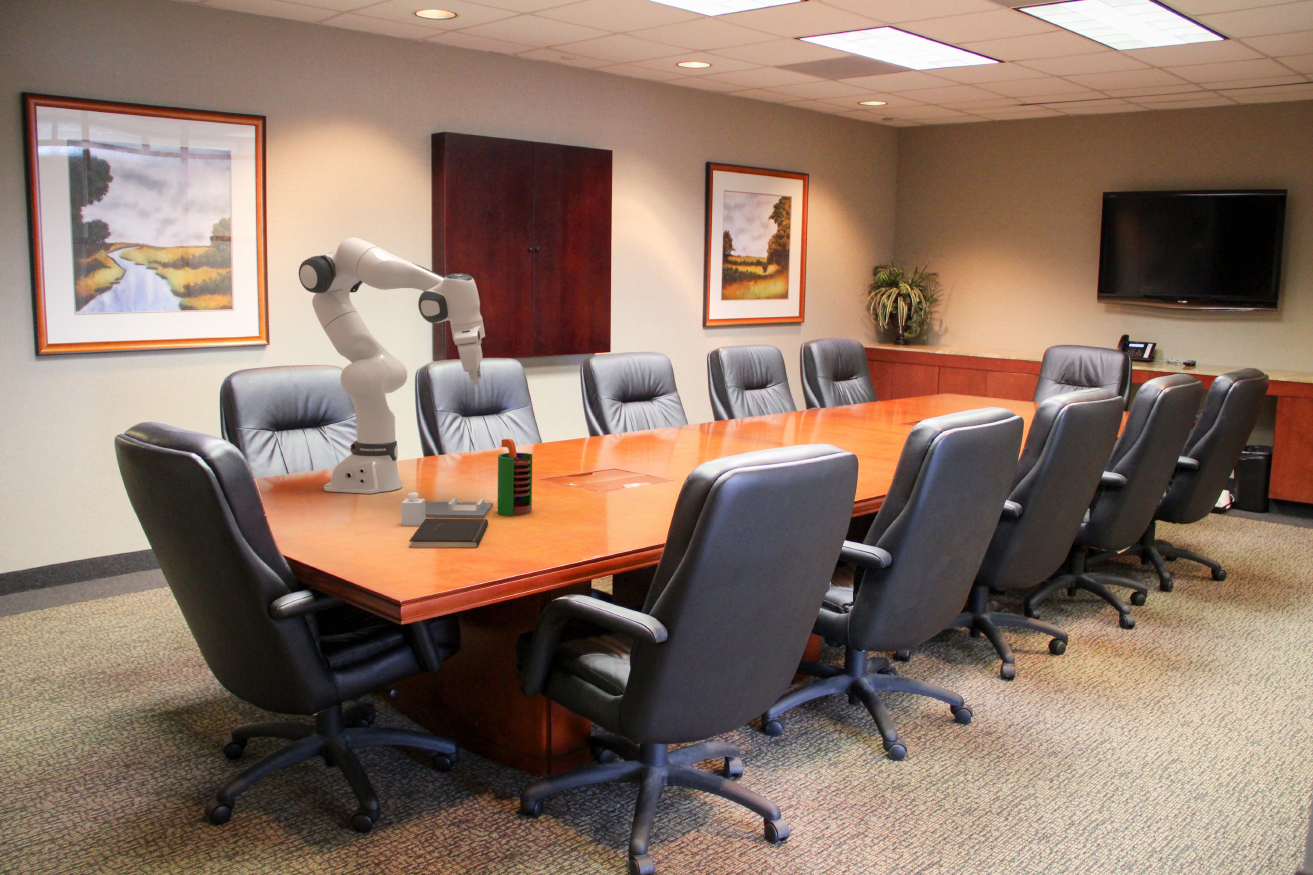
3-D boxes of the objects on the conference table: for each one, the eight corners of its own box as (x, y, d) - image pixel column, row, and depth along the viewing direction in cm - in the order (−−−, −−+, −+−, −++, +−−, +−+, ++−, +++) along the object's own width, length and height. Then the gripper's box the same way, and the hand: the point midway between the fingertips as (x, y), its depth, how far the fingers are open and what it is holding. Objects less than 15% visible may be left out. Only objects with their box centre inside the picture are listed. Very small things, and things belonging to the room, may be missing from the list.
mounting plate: (408, 516, 282) (408, 506, 281) (421, 504, 297) (421, 494, 297) (483, 518, 282) (483, 507, 281) (492, 505, 298) (492, 495, 297)
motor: (523, 517, 284) (523, 443, 281) (492, 515, 286) (491, 441, 283) (535, 509, 294) (535, 437, 291) (504, 507, 295) (504, 436, 293)
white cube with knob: (401, 525, 272) (401, 494, 271) (406, 521, 277) (405, 491, 276) (421, 525, 272) (420, 495, 271) (425, 521, 277) (425, 491, 276)
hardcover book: (409, 549, 250) (409, 540, 250) (425, 527, 273) (425, 518, 273) (477, 550, 251) (477, 540, 251) (488, 527, 274) (488, 518, 273)
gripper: (460, 328, 302) (468, 376, 306) (453, 339, 283) (461, 390, 286) (482, 325, 303) (490, 373, 306) (476, 336, 283) (485, 387, 286)
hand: (476, 381), depth 296 cm, fingers open, 8 cm apart
